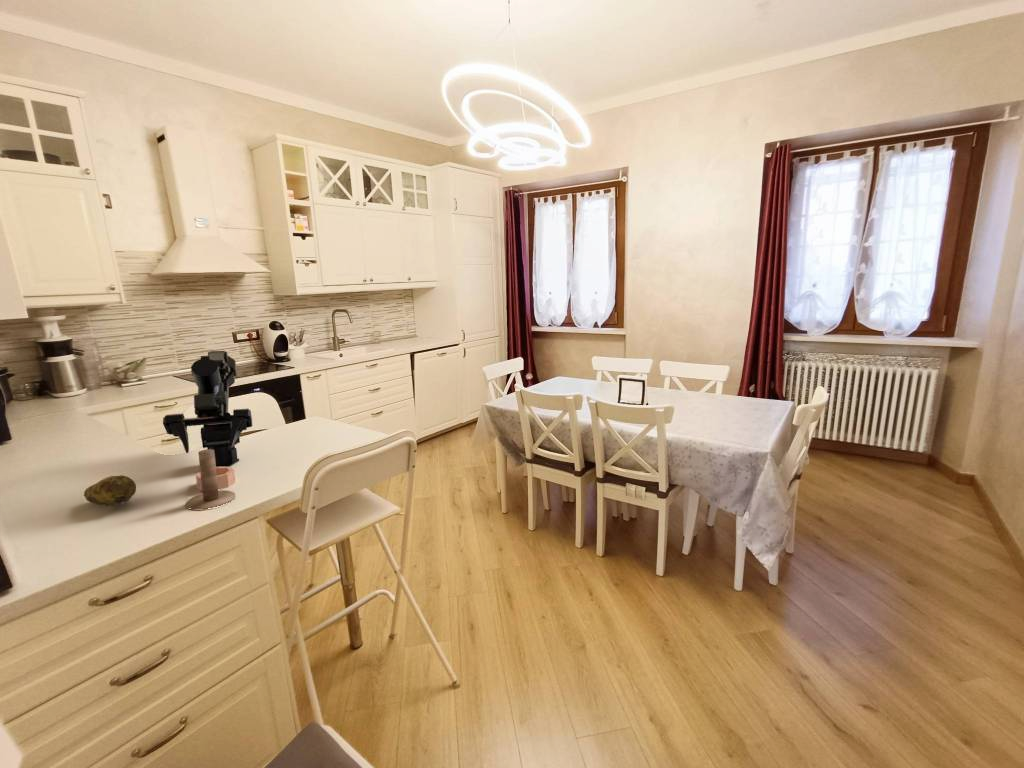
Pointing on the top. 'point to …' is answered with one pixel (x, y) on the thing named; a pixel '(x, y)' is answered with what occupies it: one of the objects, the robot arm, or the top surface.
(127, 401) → the top surface
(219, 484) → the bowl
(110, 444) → the top surface
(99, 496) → the avocado
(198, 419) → the robot arm
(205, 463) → the peg on round base
